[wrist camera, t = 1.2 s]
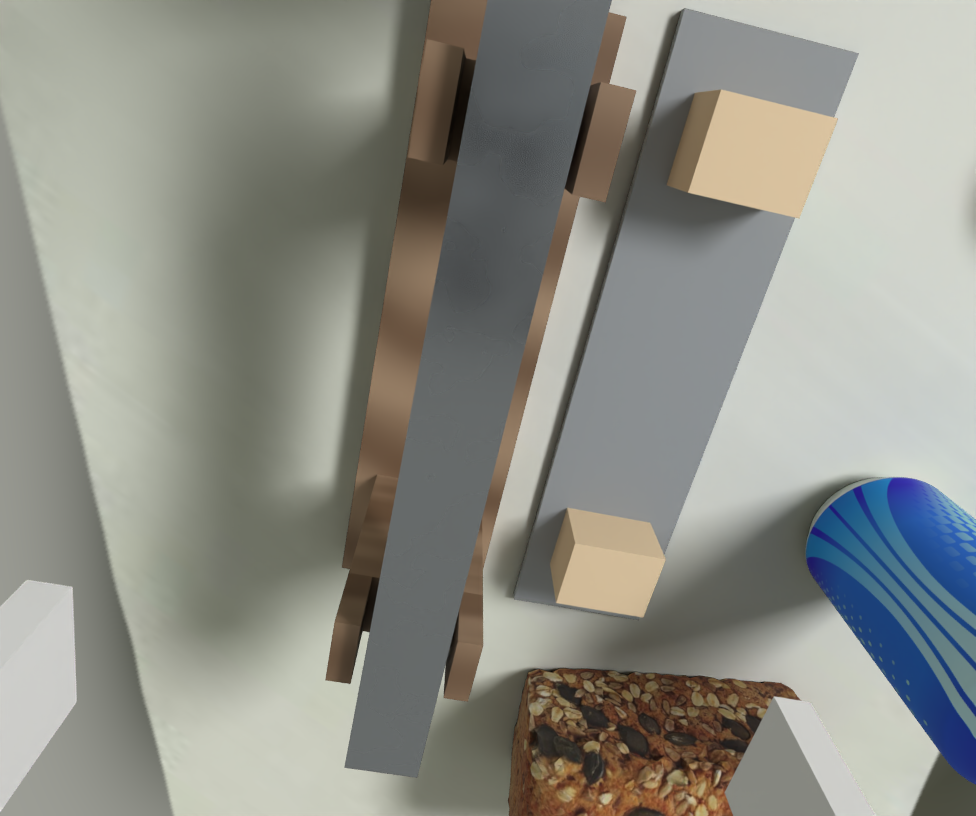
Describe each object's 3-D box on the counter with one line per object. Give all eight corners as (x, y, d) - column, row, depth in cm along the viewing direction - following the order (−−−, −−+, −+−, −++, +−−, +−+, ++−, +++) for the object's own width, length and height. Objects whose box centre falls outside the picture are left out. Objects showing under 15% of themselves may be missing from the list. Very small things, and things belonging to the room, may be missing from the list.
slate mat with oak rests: (681, 10, 29) (711, -7, 25) (852, 54, 29) (906, 45, 26) (513, 593, 41) (516, 640, 37) (636, 614, 42) (652, 662, 38)
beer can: (766, 541, 40) (933, 788, 25) (874, 439, 37) (1133, 648, 22) (860, 606, 42) (1066, 870, 27) (969, 514, 39) (1263, 750, 24)
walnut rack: (438, -25, 28) (407, -133, 16) (619, 21, 29) (718, -49, 17) (346, 551, 40) (289, 738, 28) (477, 574, 40) (476, 764, 28)
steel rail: (503, -73, 19) (509, -120, 15) (603, -46, 19) (633, -86, 16) (360, 690, 31) (344, 767, 27) (424, 699, 31) (417, 777, 27)
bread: (502, 765, 47) (508, 920, 38) (523, 651, 43) (535, 794, 34) (755, 784, 48) (819, 939, 39) (800, 674, 44) (884, 819, 35)
